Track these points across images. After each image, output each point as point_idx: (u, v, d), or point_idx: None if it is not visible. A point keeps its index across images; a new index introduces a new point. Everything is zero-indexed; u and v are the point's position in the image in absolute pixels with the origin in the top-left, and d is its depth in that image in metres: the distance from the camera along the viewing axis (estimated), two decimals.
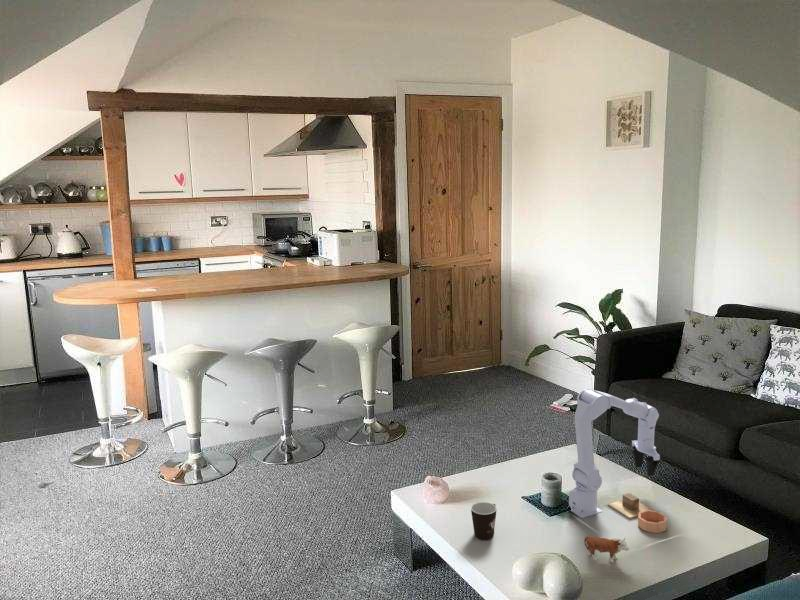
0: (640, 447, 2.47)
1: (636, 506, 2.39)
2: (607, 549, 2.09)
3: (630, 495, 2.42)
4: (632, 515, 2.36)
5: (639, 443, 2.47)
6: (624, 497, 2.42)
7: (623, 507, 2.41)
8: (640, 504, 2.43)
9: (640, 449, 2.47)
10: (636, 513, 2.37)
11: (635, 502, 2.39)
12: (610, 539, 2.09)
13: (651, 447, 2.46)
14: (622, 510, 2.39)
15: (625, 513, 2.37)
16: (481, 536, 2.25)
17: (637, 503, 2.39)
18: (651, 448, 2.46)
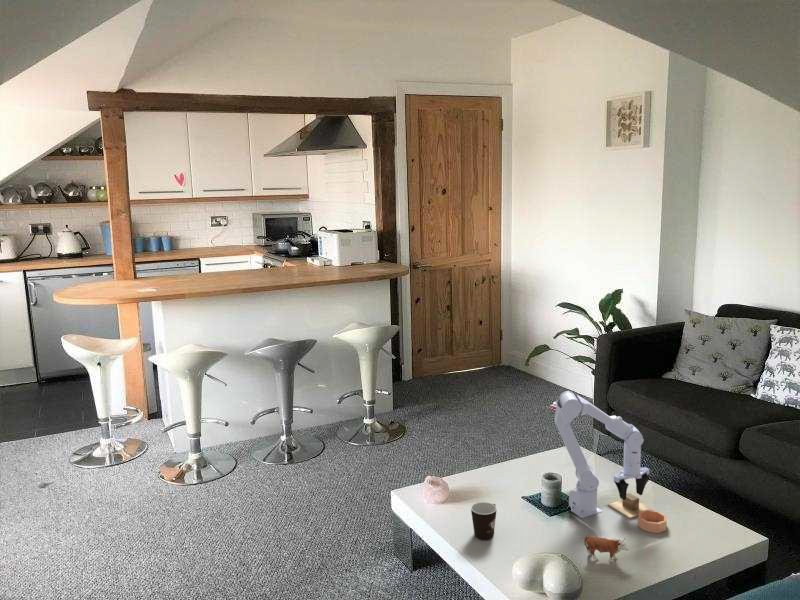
0: None
1: (636, 506, 2.39)
2: (607, 549, 2.09)
3: (630, 495, 2.42)
4: (632, 515, 2.36)
5: None
6: None
7: (623, 507, 2.41)
8: (640, 504, 2.43)
9: None
10: (636, 513, 2.37)
11: (635, 502, 2.39)
12: (610, 539, 2.09)
13: (626, 471, 2.37)
14: (622, 510, 2.39)
15: (625, 513, 2.37)
16: (481, 536, 2.25)
17: (637, 503, 2.39)
18: (626, 472, 2.37)
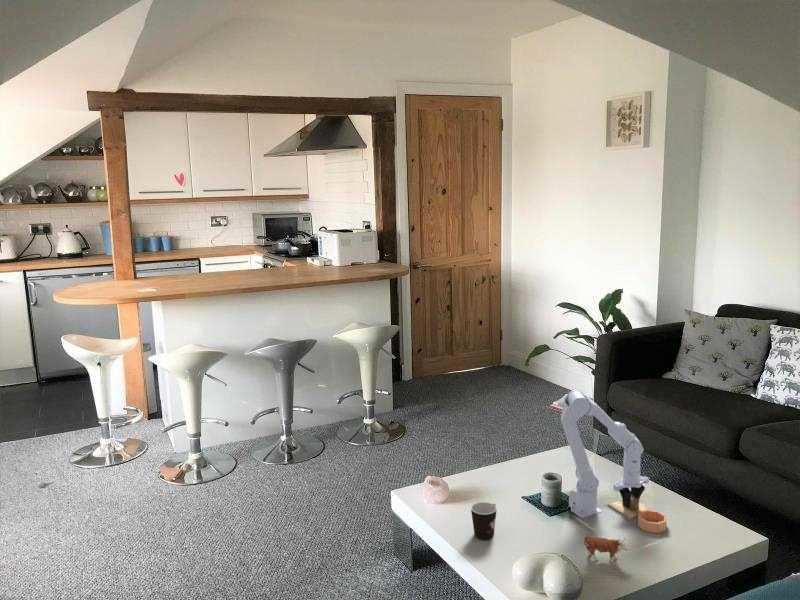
0: None
1: (636, 506, 2.39)
2: (607, 549, 2.09)
3: None
4: (632, 515, 2.36)
5: None
6: None
7: (623, 507, 2.41)
8: (640, 504, 2.43)
9: None
10: (636, 513, 2.37)
11: (635, 502, 2.39)
12: (610, 539, 2.09)
13: (626, 480, 2.38)
14: (622, 510, 2.39)
15: (625, 513, 2.37)
16: (481, 536, 2.25)
17: (637, 503, 2.39)
18: (626, 481, 2.38)
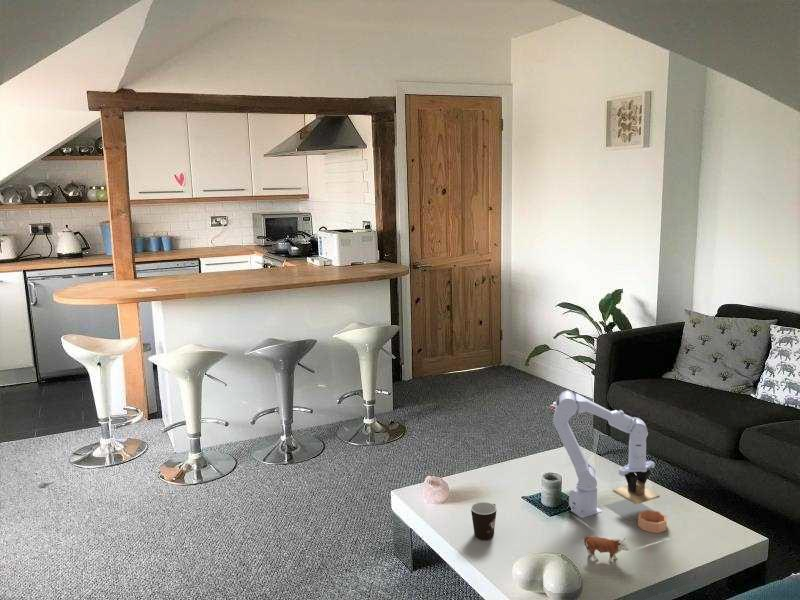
0: None
1: (642, 491, 2.35)
2: (607, 549, 2.09)
3: None
4: (638, 500, 2.32)
5: None
6: None
7: (628, 492, 2.37)
8: (646, 489, 2.39)
9: None
10: (642, 498, 2.33)
11: (641, 488, 2.35)
12: (610, 539, 2.09)
13: (632, 464, 2.34)
14: (628, 495, 2.35)
15: (631, 498, 2.33)
16: (481, 536, 2.25)
17: (643, 488, 2.35)
18: (632, 466, 2.34)
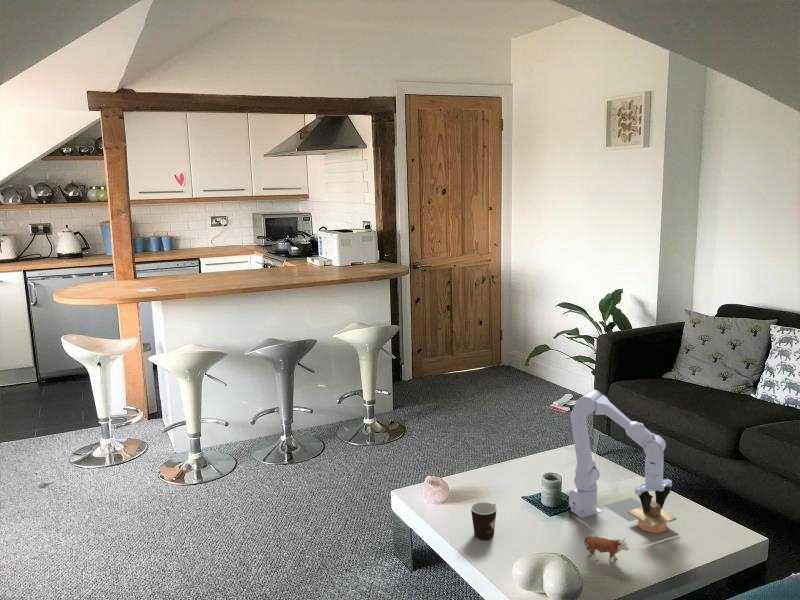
0: None
1: (658, 513, 2.27)
2: (607, 549, 2.09)
3: (651, 502, 2.29)
4: (654, 523, 2.23)
5: None
6: None
7: (644, 514, 2.29)
8: (662, 511, 2.31)
9: None
10: (658, 521, 2.24)
11: (657, 510, 2.26)
12: (610, 539, 2.09)
13: (648, 483, 2.25)
14: (643, 518, 2.27)
15: (646, 521, 2.25)
16: (481, 536, 2.25)
17: (659, 510, 2.27)
18: (648, 484, 2.25)
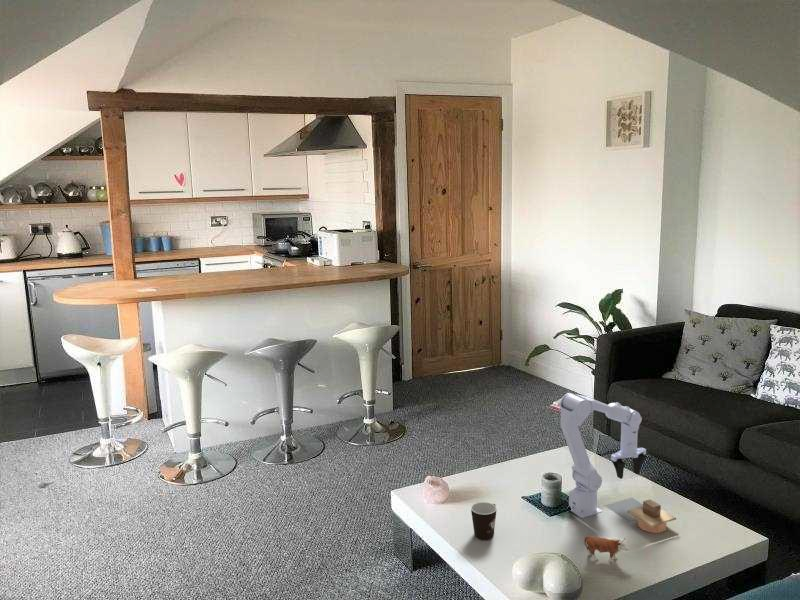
0: None
1: (657, 513, 2.27)
2: (607, 549, 2.09)
3: (651, 501, 2.29)
4: (654, 523, 2.23)
5: None
6: (645, 504, 2.29)
7: (644, 514, 2.29)
8: (661, 511, 2.31)
9: None
10: (658, 521, 2.25)
11: (657, 509, 2.27)
12: (610, 539, 2.09)
13: (623, 451, 2.44)
14: (643, 517, 2.27)
15: (646, 521, 2.25)
16: (481, 536, 2.25)
17: (658, 510, 2.27)
18: (623, 452, 2.44)
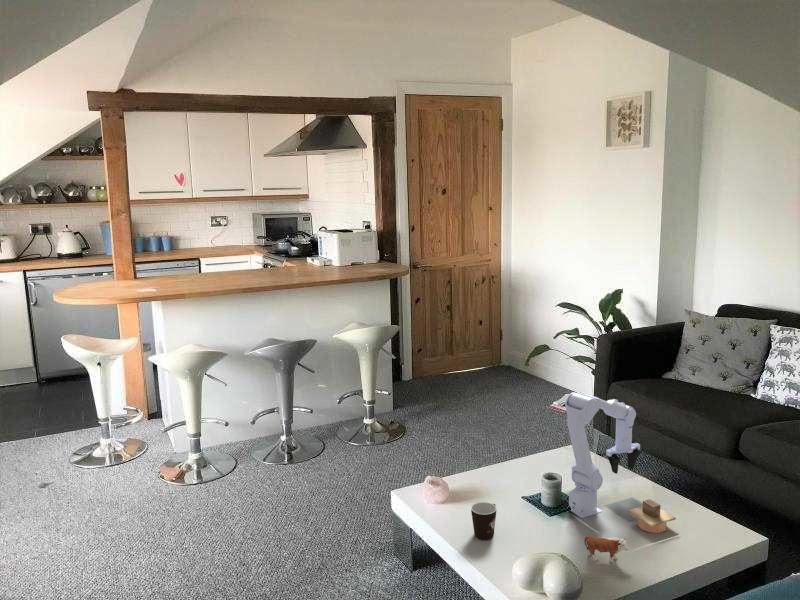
0: None
1: (657, 513, 2.27)
2: (607, 549, 2.09)
3: (651, 501, 2.30)
4: (653, 522, 2.24)
5: None
6: (644, 503, 2.29)
7: (643, 514, 2.29)
8: (661, 511, 2.31)
9: None
10: (657, 520, 2.25)
11: (656, 509, 2.27)
12: (610, 539, 2.09)
13: (618, 446, 2.49)
14: (642, 517, 2.27)
15: (646, 520, 2.25)
16: (481, 536, 2.25)
17: (658, 510, 2.27)
18: (618, 447, 2.49)
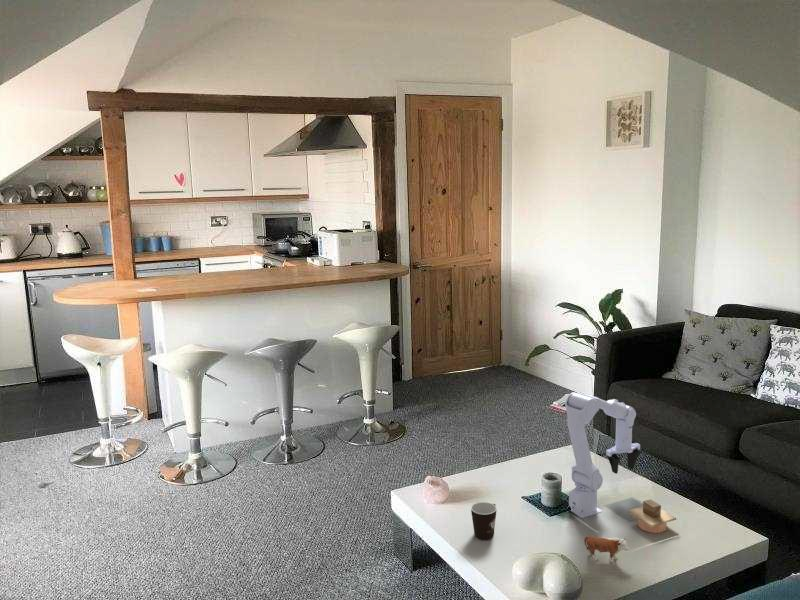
0: None
1: (658, 513, 2.27)
2: (607, 549, 2.09)
3: (651, 501, 2.30)
4: (654, 523, 2.23)
5: None
6: (645, 503, 2.29)
7: (644, 514, 2.29)
8: (662, 511, 2.31)
9: None
10: (658, 521, 2.25)
11: (657, 509, 2.27)
12: (610, 539, 2.09)
13: (618, 446, 2.49)
14: (643, 517, 2.27)
15: (646, 520, 2.25)
16: (481, 536, 2.25)
17: (659, 510, 2.27)
18: (618, 447, 2.49)
